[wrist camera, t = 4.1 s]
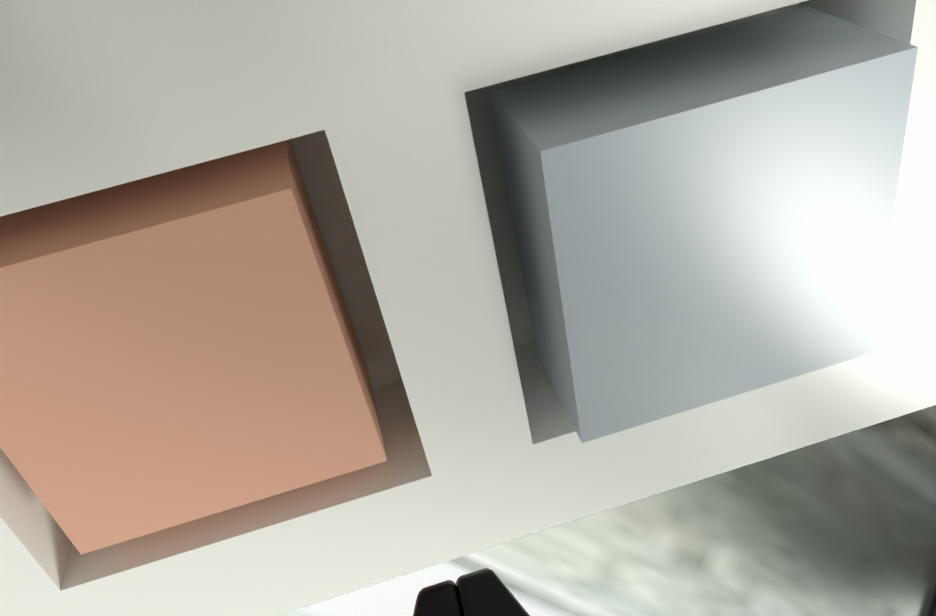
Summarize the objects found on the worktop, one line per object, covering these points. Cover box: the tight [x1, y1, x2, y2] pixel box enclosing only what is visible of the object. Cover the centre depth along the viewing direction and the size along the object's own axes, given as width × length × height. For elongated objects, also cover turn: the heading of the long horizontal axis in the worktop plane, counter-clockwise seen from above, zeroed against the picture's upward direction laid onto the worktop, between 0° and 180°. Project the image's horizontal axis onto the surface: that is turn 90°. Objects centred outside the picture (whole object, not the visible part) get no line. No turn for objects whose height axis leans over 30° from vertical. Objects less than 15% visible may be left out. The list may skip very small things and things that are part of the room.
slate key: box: [490, 6, 918, 443], centre depth 13 cm, size 6×6×3 cm
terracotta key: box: [0, 139, 387, 555], centre depth 13 cm, size 6×6×3 cm
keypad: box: [0, 0, 936, 616], centre depth 15 cm, size 12×30×4 cm, turn 101°
